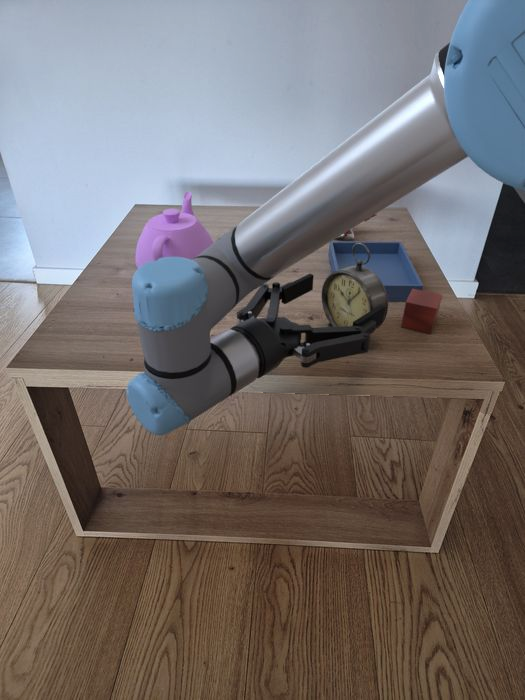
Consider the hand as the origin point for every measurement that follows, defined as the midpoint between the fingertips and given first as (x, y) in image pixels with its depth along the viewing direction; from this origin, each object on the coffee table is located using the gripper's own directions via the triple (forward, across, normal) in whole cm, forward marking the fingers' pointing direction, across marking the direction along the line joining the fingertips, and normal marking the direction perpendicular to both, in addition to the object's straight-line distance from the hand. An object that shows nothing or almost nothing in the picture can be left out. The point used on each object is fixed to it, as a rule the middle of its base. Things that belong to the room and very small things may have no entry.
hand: (344, 296), depth 76 cm
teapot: (-5, -37, -9) cm, 38 cm away
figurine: (+34, -27, -9) cm, 44 cm away
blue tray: (+22, -10, -8) cm, 26 cm away
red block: (+14, +6, -8) cm, 17 cm away
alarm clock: (+3, 0, -9) cm, 9 cm away
